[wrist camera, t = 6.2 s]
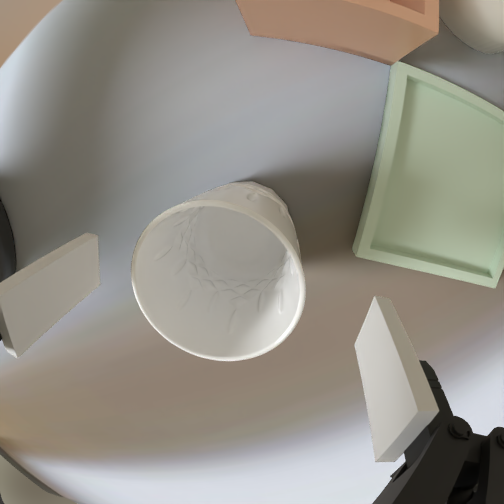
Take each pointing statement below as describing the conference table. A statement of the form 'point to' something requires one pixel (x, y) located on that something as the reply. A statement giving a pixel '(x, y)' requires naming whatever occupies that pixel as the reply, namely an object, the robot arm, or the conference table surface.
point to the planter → (347, 24)
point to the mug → (475, 23)
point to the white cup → (222, 273)
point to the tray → (436, 181)
